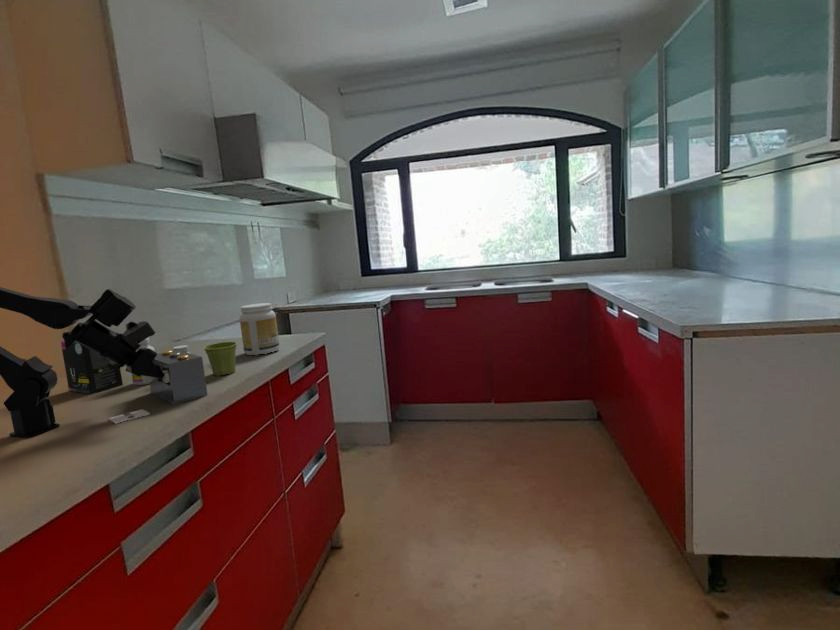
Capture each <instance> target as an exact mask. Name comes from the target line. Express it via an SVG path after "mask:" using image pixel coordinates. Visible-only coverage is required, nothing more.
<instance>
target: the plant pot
mask: <svg viewBox="0 0 840 630" xmlns="http://www.w3.org/2000/svg"><path fill="white" fill-rule="evenodd" d="M237 345H238V342H236V341H223V342H217V343H212V344H208V345H205V346H204V347H202V348H203V350H204V352H205V354H206V355H207V359H208V361H209V364H210V366H211V367H210V368H211V371H212V374H213V375H214V376H216V377H217V376H218V377H221V375H223V376H225V375H230V374H231V373H232V374H233V373H236V350H237Z"/></svg>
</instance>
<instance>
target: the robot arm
mask: <svg viewBox="0 0 840 630" xmlns="http://www.w3.org/2000/svg"><path fill="white" fill-rule="evenodd" d="M136 307H137V306H136V305H135V304H134V303H133V302H132V301H131V300H130V299H128V298H127V297H126V296H122V295H121V294H119V293H117V292H115V291H113V290H112V289H111V288H108V289H105V291H104V292H103V293H102V294H101V296H100V297H99V298H98V299H97V300H96V301H95V302H94V303H93V304H92V305H90V304H88V305H80V304H77V303H76V302H74V301H73V300H69V299H61V298H54V297H41V296H34V295H30V294H27V293H23V292H19V291H16V290H12V289H8V288H5V287H2V286H0V309H4V310H7V311H12V312H14V313H15V312H16V313H18V314H22V315H24V316H27V317H29V318H30V319H32V320H33V321H34V322H37V323H39V324H42V325H44V326H45V327H48V328H51V329H54V330H63V329H65V328H67V327H70V326H72V325H74V324H76V325H75V326H74V327H73V328H72V329H71V330H69V331H67V332H65V331H64V332H63V333H62V338H63V341H64V342H65V347H66V348H68V347H70V345H71V344H72V343H73V342H74V341H76V342H78V343H80V344H82V345H83V346H85V347H87V348H89V349H90V350H92V351H94V352H96V353H97V354H98V355H100V356H103V357H104V358H106V359H108V360H110V364H112V365H114V366H116V367H118V368H120V369H121V368H124V367H126V368H125V370H124V371H125V372H128V373H130V374H131V375H132V374H134V375H136V376H138V377H140V376H141V375H142V376H150V377H156V378H163V377H164V376H165V374H164V373H163V372H162V371H161V370H160V369H159V368H158V367H157V366H156V365H155V364H154V363H153V362H152V361H153V360H154V358H155V357H156V356H157V354H158V352H156V351H155V352H154V351H153V350H151V349H149V348H140V349H139V350H138V348H139V347H140V346H141V345H139V344H138V343H140V342H142V341H143V340H145V339H146V338H150V337H153V336H154V335H155V334H156V331H155V330H154V328H153V327H152V326H151V324H150V323H149V322H148V321H145V320H142V321H139V322H138V323H136V322H134V321H129V322H128V323H126V324H125V331H124V332H123V333H121V332H120V333H118V332H115V331H113V330H111V329H110V328H111V327H112V326H115V327H118V326H120V324H122V322H123V321H125V320H126V318H127V317H128V316H129V315H130V314H132V312H133V311H134V310H135V309H136ZM89 316H90V317H89ZM87 317H89V318H88V319H87V320H86V321H83V322H78V321H79V320H82V319H85V318H87ZM108 327H109V328H108ZM136 350H138V351H136ZM53 368H54V365H51V364H48V363H45V362H44V361H42V359H40V358H39V357H38V356H36V355H34V356H32V357H30V358H28V359H25V358H21V357H18V356H17V355H15V354H14V353H12V352H11V351H9V350H7V349H6V348H3V347H2V346H1V345H0V377H1V379H2V380H3V381H4V383H5V384H6V386H8V388H10V389H11V390H12V391H13V392H12V393H11V394H9V396H8V397H7V398H6V400H5V401H3V405H4V406H5V408H6V409H7V411H9V413H10V418H11V424H12V428H13V429H12V430H13V431H11V432H10V433H9V434H8V435H9V436H10V437H20V438H21V437H22V438H23V437H25V438H32V437H35V436H37V435H40V434H42V433H45V432H47V431H50V430H53V429H54V428H55V429H56V428H58V427H59V426H61V424H60V423H58V422H57V423H56V415H55V411H54V406H53V404H51V401H50V398H49V397H50V394H51V390H54V388H55V387H56V385H57V383H58V374H57V373H56V371H55V370H54V369H53Z"/></svg>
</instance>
